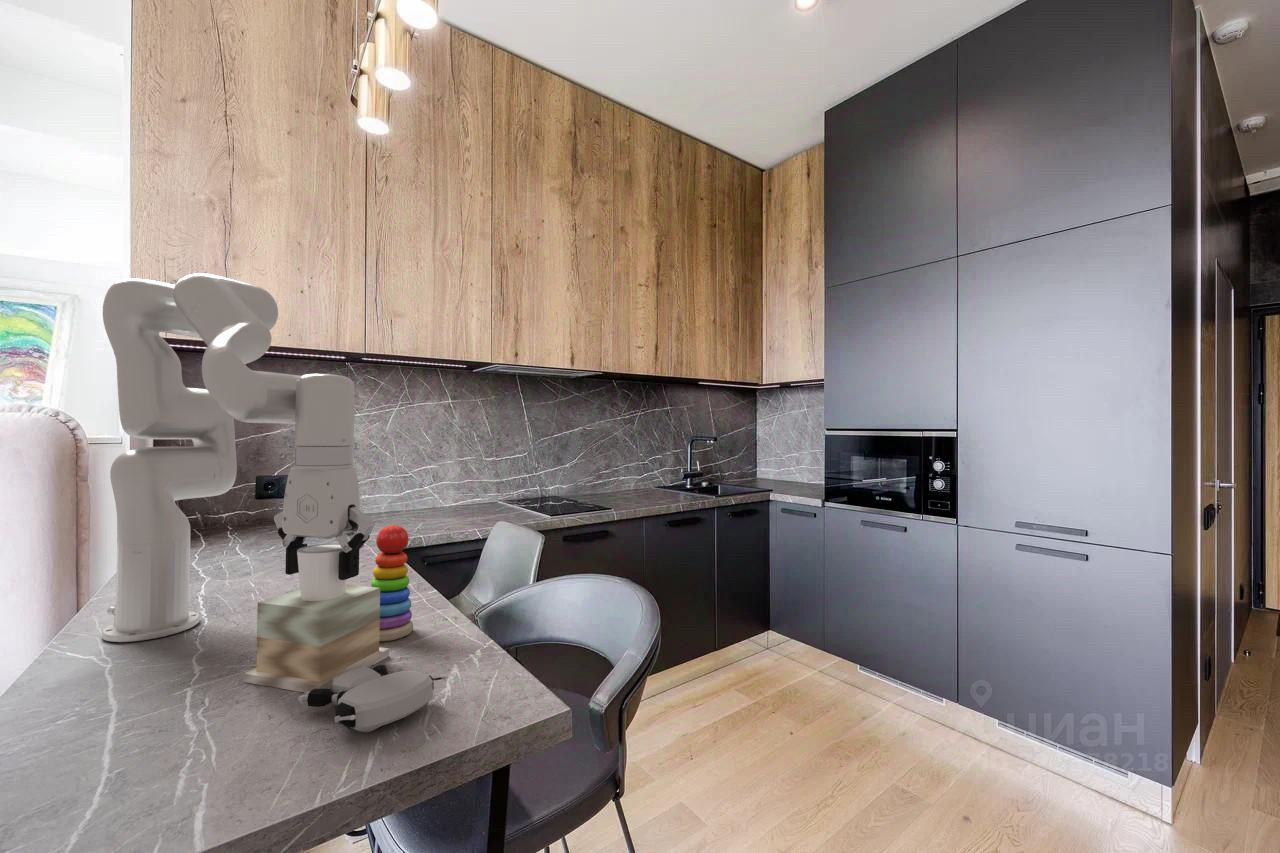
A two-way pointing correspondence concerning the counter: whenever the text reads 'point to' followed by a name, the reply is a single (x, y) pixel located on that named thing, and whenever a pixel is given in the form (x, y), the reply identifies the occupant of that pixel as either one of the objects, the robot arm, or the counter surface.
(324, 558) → the shot glass
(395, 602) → the stacking toy
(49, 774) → the counter surface
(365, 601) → the patterned box
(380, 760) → the counter surface
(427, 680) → the robot toy
